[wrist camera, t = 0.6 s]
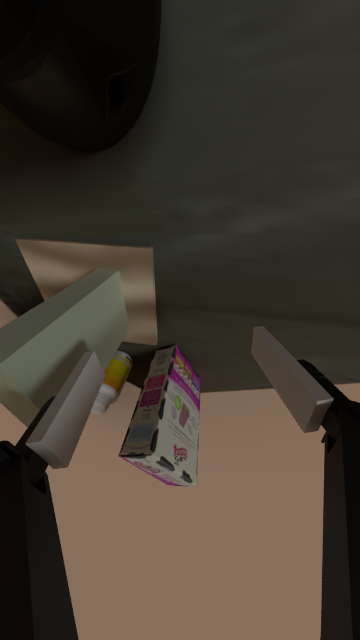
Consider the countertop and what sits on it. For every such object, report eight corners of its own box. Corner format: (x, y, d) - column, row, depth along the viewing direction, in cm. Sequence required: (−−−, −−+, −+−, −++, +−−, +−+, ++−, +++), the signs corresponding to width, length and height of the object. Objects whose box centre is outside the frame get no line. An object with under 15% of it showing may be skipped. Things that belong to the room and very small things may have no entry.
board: (21, 237, 23) (14, 239, 22) (152, 246, 21) (150, 248, 20) (64, 330, 32) (60, 334, 31) (157, 341, 30) (156, 345, 30)
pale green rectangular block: (97, 268, 23) (-48, 358, 10) (119, 270, 22) (-1, 364, 10) (112, 327, 29) (33, 432, 16) (129, 329, 28) (63, 437, 15)
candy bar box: (153, 350, 32) (115, 456, 19) (176, 343, 30) (151, 455, 17) (180, 384, 37) (166, 487, 24) (201, 380, 35) (198, 489, 22)
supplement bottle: (107, 345, 33) (73, 394, 25) (134, 353, 33) (110, 404, 25) (107, 363, 36) (78, 412, 28) (132, 370, 36) (110, 420, 28)
